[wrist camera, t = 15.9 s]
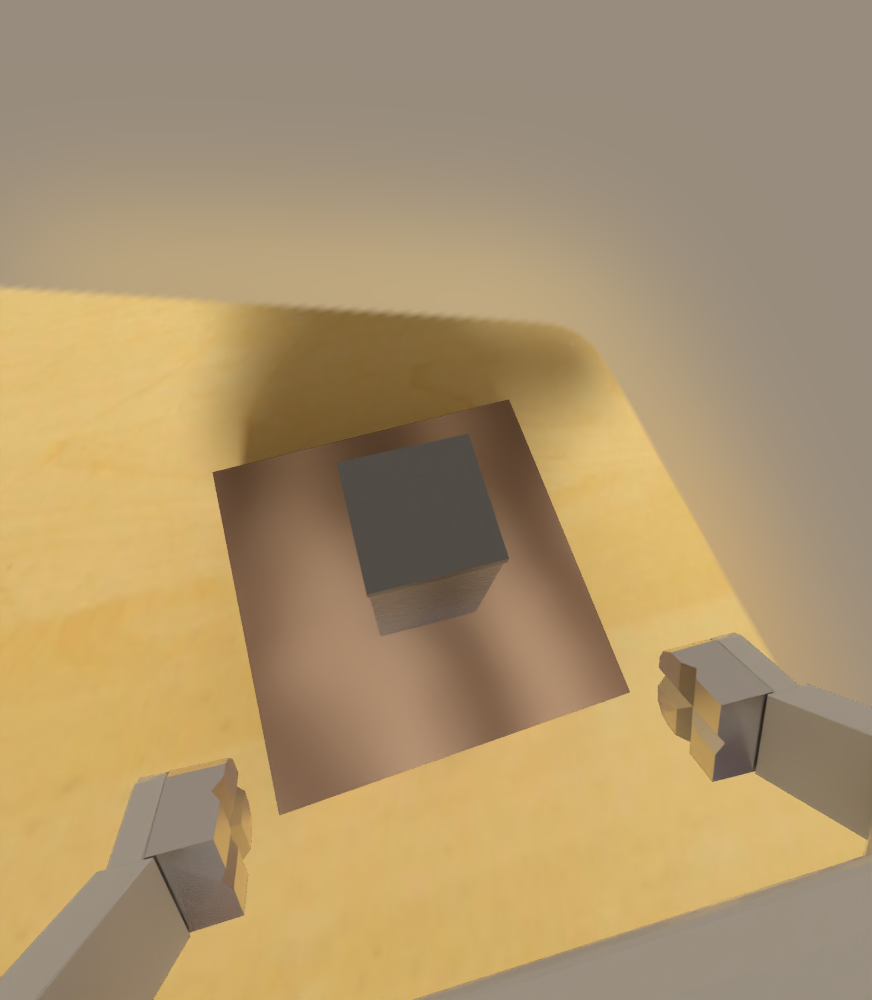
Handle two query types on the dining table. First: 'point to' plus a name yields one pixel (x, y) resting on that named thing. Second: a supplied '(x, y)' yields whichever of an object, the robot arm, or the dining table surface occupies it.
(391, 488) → the grey tin
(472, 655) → the walnut block
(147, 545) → the dining table surface
